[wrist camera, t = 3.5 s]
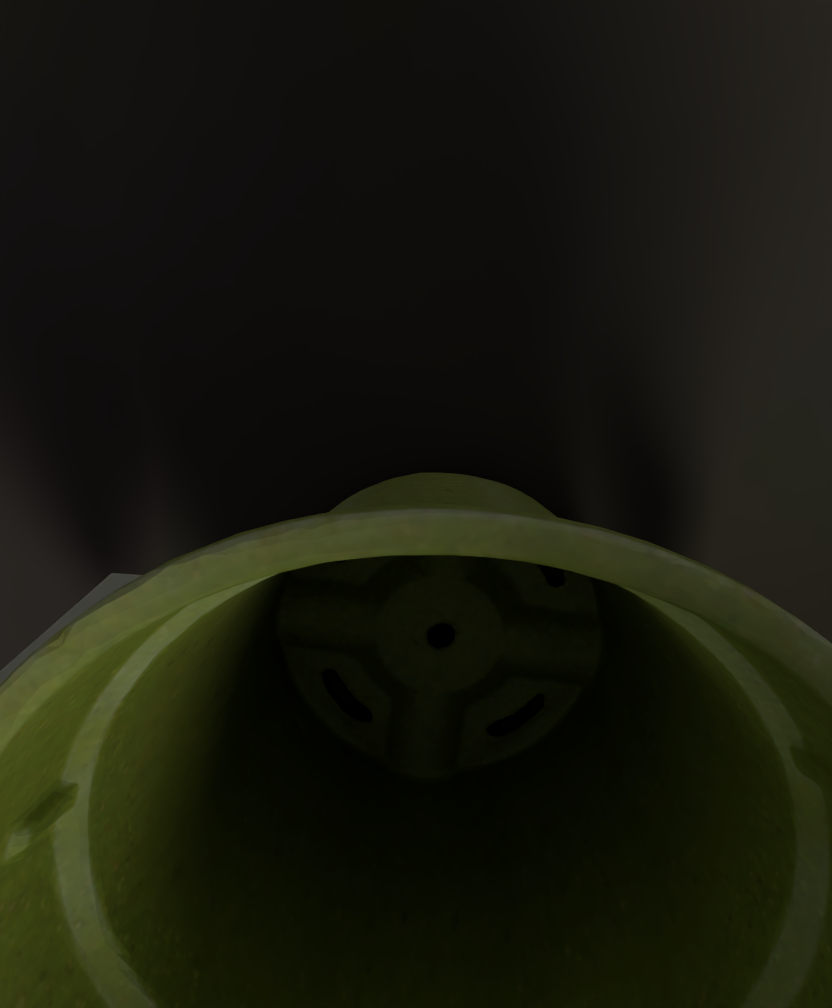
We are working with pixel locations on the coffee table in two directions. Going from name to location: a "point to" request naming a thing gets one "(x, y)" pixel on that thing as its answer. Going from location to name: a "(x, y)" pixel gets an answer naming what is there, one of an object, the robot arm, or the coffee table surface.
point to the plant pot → (420, 775)
